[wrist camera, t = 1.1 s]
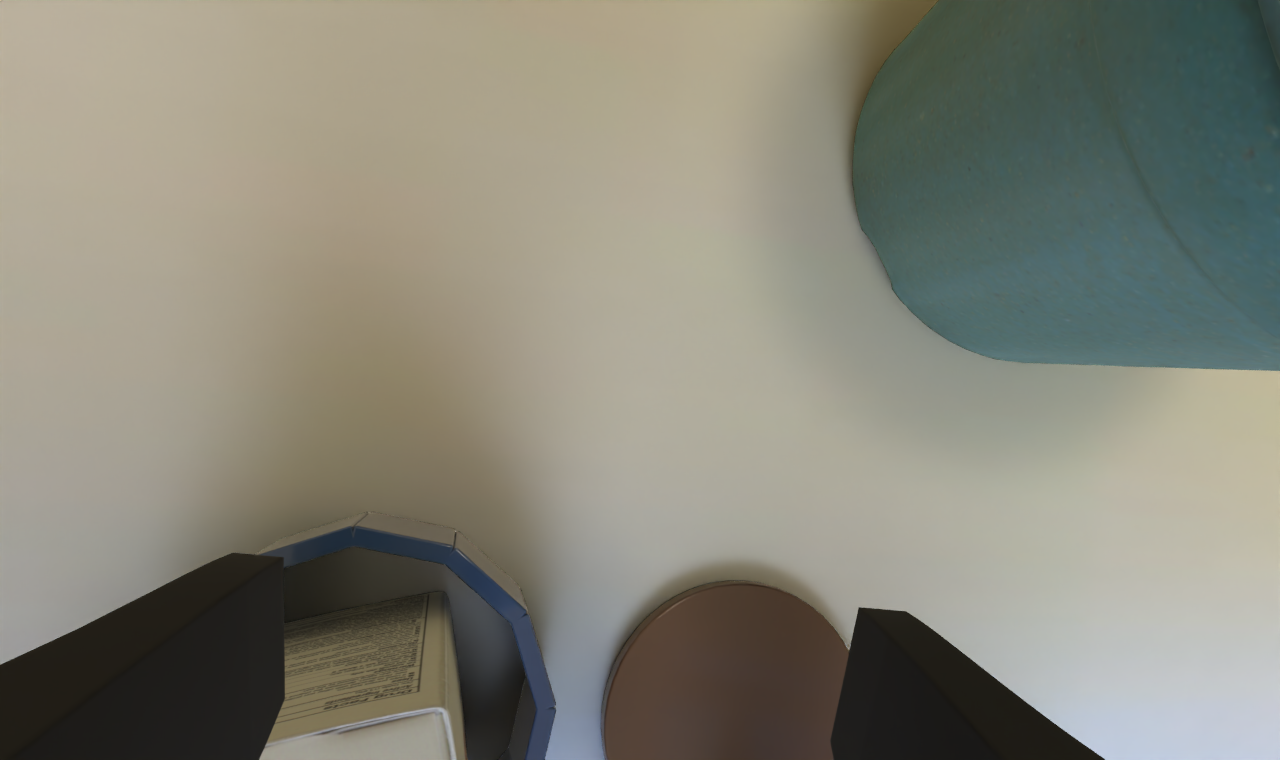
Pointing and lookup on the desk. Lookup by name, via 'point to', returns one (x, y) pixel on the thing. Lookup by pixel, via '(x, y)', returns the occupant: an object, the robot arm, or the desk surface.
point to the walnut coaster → (726, 679)
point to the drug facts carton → (372, 685)
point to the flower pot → (1083, 180)
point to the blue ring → (471, 568)
